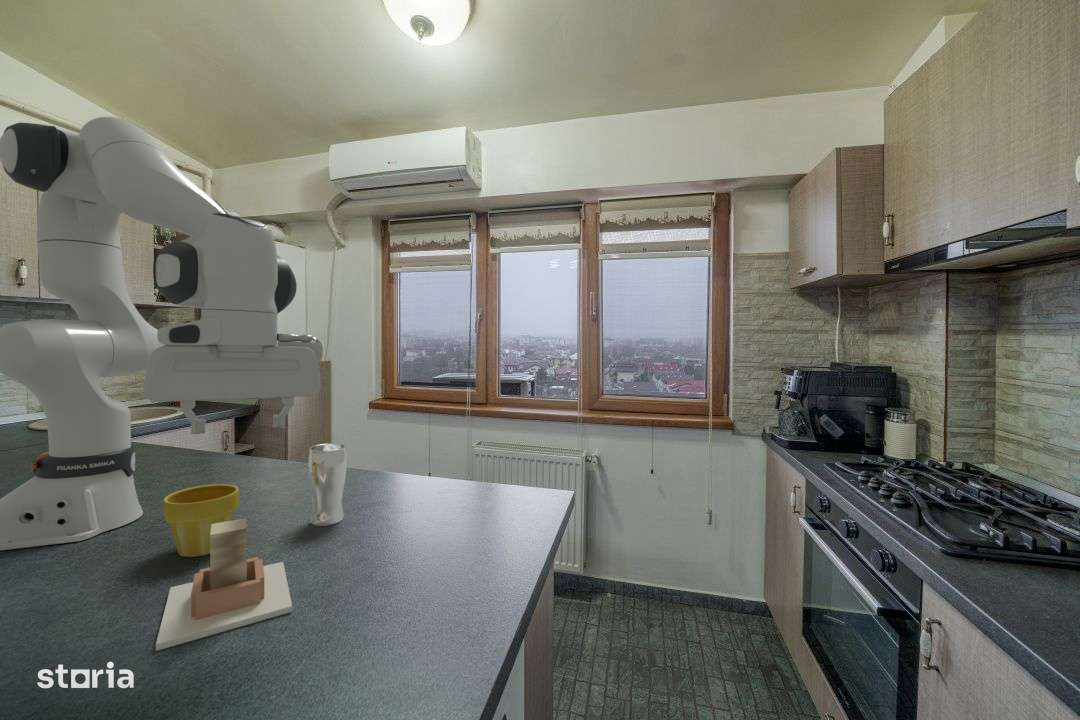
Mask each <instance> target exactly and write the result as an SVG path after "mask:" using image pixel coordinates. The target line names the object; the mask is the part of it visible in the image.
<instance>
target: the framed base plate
mask: <svg viewBox="0 0 1080 720" xmlns="http://www.w3.org/2000/svg"><path fill="white" fill-rule="evenodd" d="M285 569H286V568H285V564H284V561H280V562H276V563H271V564H266V565H264V560H263V558H260V559H259V556H257V557H251V558H247V582H242V583H238V584H234V585H230V586H226V587H222V588H217V589H213V590H211V585H210V567H205V568H200V569H199V571H198V573H194V576H193V581H192V582H187V583H183V584H178V585H176V586H171V587H170V588H169V591H168V596H167V598H166V599H167V600H166V603H165V607H164V612H163V615H162V619H161V622H160V623H161V624H160V626H159V631H158V634H157V638H156V643H155V651H161V650H164V649H167V648H170V647H171V648H172V647H174V646H178V645H182V644H185V643H188V642H192V641H195V640H200V639H203V638H205V637H206V638H207V637H210V636H213V635H216V634H219V633H222V632H224V633H225V632H227V631H231V630H233V629H236V628H242V627H245V626H247V625H251V624H255V623H259V622H261V621H265V620H268V619H272V618H275V617H279V616H282V615H286V614H289V613H293V604H292V600H291V594H290V589H289V584H288V579H287V573H286V570H285Z"/></svg>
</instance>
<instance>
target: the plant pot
mask: <svg viewBox="0 0 1080 720" xmlns="http://www.w3.org/2000/svg"><path fill="white" fill-rule="evenodd" d="M239 503H240V489H239V487H238V486H237V485H234V484H224V483H221V484H220V483H218V484H205V485H199V486H192V487H188V488H185V489H181V490H177V491H175V492H172V493H170V494H168V495H167V496H165V497H164V498H163V501H162V512H163V520H164V521H165V522H166V523H169V527H170V530H171V533H172V537H173V541H174V544H175V547H176V551H177V554H178V555H180V557H183V558H197V557H203V556H206V555H210V532H211V525H212V524H215V523H221V522H227V521H232V520H233V517H234V513H235V511H237V510H238V508H239Z"/></svg>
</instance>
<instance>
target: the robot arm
mask: <svg viewBox="0 0 1080 720" xmlns="http://www.w3.org/2000/svg"><path fill="white" fill-rule="evenodd" d="M0 163H1V164H2V167H3V170H4V172H5V173H6V174H7V175H8V176H9V178H10V179H11V180H12V181H14V183H16V184H18V185H22V186H24V187H27V188H30V189H33V190H36V191H39V192H42V194H41V196H40V200H39V204H38V210H37V218H36V242H37V243H36V244H37V245H36V247H37V254H38V256H37V257H38V267H39V280H40V283H41V285H42V287H43V288H44V289H45V291H47V292H48V293H50V294H51V295H53V296H55V297H57V298H58V299H60V300H62V301H64V302H66V303H67V305H69V307H71V308H72V309H73V310H74V312H75V313H76V315H77V318H78V319H53V318H51V319H50V318H44V319H43V318H41V319H32V320H24V321H16V322H9V323H6V324H4V325H2V326H1V327H0V373H1V374H2V375H3V376H5V377H7V378H9V379H11V380H13V381H14V382H15V381H16V382H17V383H19V384H20V385H22V386H23V387H25V388H26V389H27V390H28V391H30V392H31V393H32V395H34V396H35V398H36V399H37V401H38V402H39V404H40V405H41V407H42V409H43V410H42V411H43V412H44V415H45V420H46V427H47V436H48V437H47V439H48V451H46V452H43V453H40V454H39V455H37V457H36V459H35V460H34V461H33V462H32V464H31V468H30V469H31V472H32V473H33V475H34V476H33V477H32V478H30V479H28V480H27V481H25V482H24V483H22V484H21V485H19V486H18V487H16V488H15V489H13V490H12V491H10V492H8V493H7V494H5V495H4V496H3V497H1V498H0V551H7V550H14V549H24V548H33V547H40V546H48V545H57V544H66V543H73V542H80V541H85V540H88V539H91V538H93V537H95V536H97V535H99V534H102V533H105V532H107V531H110V530H113V529H117V528H120V527H122V526H125V525H127V524H131V523H132V522H134V521H136V520H138V519H139V518H140V517H141V516H143V514H144V511H143V508H142V506H141V504H140V502H139V497H138V494H137V491H136V486H135V480H134V474H135V470H136V452H135V447H134V445H132V431H131V430H132V426H131V425H132V424H131V423H132V421H131V419H132V417H131V416H132V415H131V411H130V408H129V407H128V405H127V404H125V403H124V402H122V401H121V400H119V399H115V398H113V397H109V396H107V394H106V393H105V392H104V390H103V389H102V386H101V383H100V379H101V378H113V377H114V378H115V377H128V376H134V375H135V376H136V375H139V374H144V373H145V376H144V384H143V385H144V386H143V395H144V396H145V398H147V399H148V400H149V402H151V403H165V402H166V403H167V402H168V403H169V402H179V404H180V405H179V406H180V411H181V412H182V413H183V415H184V416H185V417H186V419H187V420H188V422H190V434H191V435H198V434H205V433H206V430H207V429H206V418H198V416H197V415H196V414H195V412H194V410H193V409H195V407H196V401H214V400H215V401H216V400H217V401H219V400H241V399H244V400H245V399H247V400H248V399H267V398H268V399H269V398H272V399H273V398H275V399H276V398H281V402H282V404H283V405H284V406H283V407H282V410H281V411H280V412H279V414H272V415H273V416H272V420H273V422H272V427H273V429H283V428H286V416H288V414H289V412H290V411H291V410H292V408H293V407H294V404H295V397H298V398H299V397H301V398H302V397H315V396H317V395H318V393H319V392H320V391H321V390H322V389H321V387H322V386H321V373H320V367H319V364H320V362H321V361H322V359H323V345H322V342H321V341H320V340H319V339H317V338H316V337H313V336H312V335H310V334H291V333H278V314H279V313H281V312H282V311H284V310H285V309H286V308H287V307H288V306H289V305H290V304H291V303H292V302H293V301H294V299H295V296H296V295H297V294H296V293H297V288H298V287H297V285H298V284H297V279H296V276H295V274H294V272H293V270H292V268H291V266H290V265H289V264H288V262H287V261H286V260H285V259H284V258H283V257H281V256H280V255H278V252H277V245H276V239H275V236H274V234H273V230H272V229H271V227H269V226H268V225H267V224H265V223H263V222H261V221H258V220H255V219H250V218H246V217H242V216H237V215H234V214H232V213H231V212H230V211H229V210H228V209H226V208H225V206H223V205H221V204H220V203H219V202H218V201H217V200H215V199H214V198H213V197H212V196H210V195H209V194H208V193H207V192H205V191H204V190H203V189H202V188H200V187H199V186H198V185H197V184H195V182H193V181H192V180H191V178H189V177H188V176H186V174H185V173H183V171H181V170H180V169H179V168H178V167H177V166H176V164H175V163H174V162H173V160H172V159H171V158H170V156H169V155H168V154H167V153H166V151H165V150H164V149H163V148H162V147H161V146H160V145H159V144H158V143H157V142H156V141H155V140H154V139H153V138H152V137H151V136H150V135H149V134H147V132H145V131H143V130H142V129H141V128H140V127H138V126H137V125H136V124H134V123H132V122H130V121H128V120H125V119H122V118H118V117H113V116H100V117H96V118H93V119H91V120H89V121H87V122H86V123H85V124H84V125H83V126H82V127H81V129H80V131H79V134H78V133H74V132H71V131H66V130H62V129H58V128H57V127H56V126H54V125H48V124H41V123H40V124H39V123H32V122H16V123H14V124H10V125H9V126H6V128H5V129H4V132H3V134H2V135H1V136H0ZM122 214H124V215H126V216H128V217H130V218H131V219H134V220H136V221H139V222H143V223H144V224H145V223H146V224H147V225H148V224H149V225H152V226H156V227H160V228H162V229H166V230H170V231H174V232H177V233H179V234H180V233H181V234H183V235H186V236H189V237H187V238H186V239H184V240H183V239H182V240H174V241H172V242H170V243H167V244H166V245H165V246H163V247H161V249H160V250H157V252H156V253H155V255H154V258H153V263H152V269H153V270H152V275H153V276H152V277H153V278H152V279H153V284H154V287H155V288H156V290H158V292H159V294H160V295H162V296H163V297H164V299H166V300H167V301H169V302H170V303H171V304H173V305H177V306H182V307H184V308H185V307H186V308H192V309H200V311H201V312H200V314H201V317H200V319H197V320H193V321H192V320H186V321H183V322H181V323H178V324H173V325H168V326H167V325H166V326H164V327H161V328H158V329H157V328H155V327H154V326H153V325H151V324H150V323H149V322H148V321H147V320H145V318H144V317H143V316H142V315H141V313H140V312H139V311H138V309H137V307H136V306H135V304H134V303H133V301H132V299H131V296H130V294H129V291H128V287H127V284H126V279H125V271H124V264H123V263H124V261H123V251H122V242H121V241H122V240H121V236H120V234H121V233H120V228H119V218H120V216H121V215H122ZM313 341H314V342H313Z"/></svg>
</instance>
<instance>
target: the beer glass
mask: <svg viewBox="0 0 1080 720" xmlns="http://www.w3.org/2000/svg"><path fill="white" fill-rule="evenodd" d="M307 464H308V467H307V468H308V469H307V470H308V471H307V472H308V473H307V475H308V482H309V483H308V484H309V487H310V488H309V489H310V493H311V498H312V512H311V516H310V524H311V525H313V526H318V527H327V526H331V525H332V526H333V525H335V524H338V523H341V522H342V521H343V520H344V517H345V515H344V510H343V501H342V500H343V493H344V489H345V482H346V476H347V466H348V465H347V451H346V445H345V443H344V444H343V443H340V442H339V443H338V442H337V443H336V442H335V443H334V442H331V443H320V444H316V445H312V446H310V447H309V453H308V463H307Z"/></svg>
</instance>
